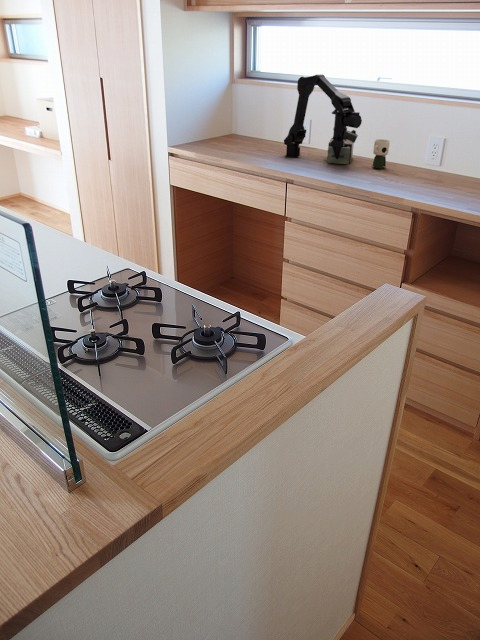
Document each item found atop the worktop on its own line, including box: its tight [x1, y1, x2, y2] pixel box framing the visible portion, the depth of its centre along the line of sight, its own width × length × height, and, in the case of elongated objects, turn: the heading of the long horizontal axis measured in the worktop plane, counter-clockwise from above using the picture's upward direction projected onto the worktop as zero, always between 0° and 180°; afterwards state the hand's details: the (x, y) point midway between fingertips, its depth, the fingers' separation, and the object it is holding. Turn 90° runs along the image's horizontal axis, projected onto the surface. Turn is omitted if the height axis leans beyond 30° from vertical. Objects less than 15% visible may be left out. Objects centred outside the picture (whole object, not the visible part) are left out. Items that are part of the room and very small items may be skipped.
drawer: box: [326, 145, 350, 165], centre depth 271 cm, size 17×10×8 cm, turn 166°
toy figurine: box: [372, 138, 391, 170], centre depth 262 cm, size 11×7×13 cm, turn 132°
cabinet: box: [326, 137, 355, 165], centre depth 277 cm, size 14×12×10 cm
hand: (337, 158), depth 263 cm, fingers closed
